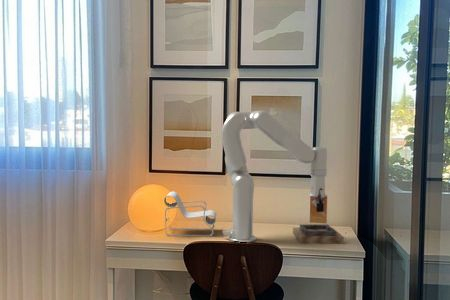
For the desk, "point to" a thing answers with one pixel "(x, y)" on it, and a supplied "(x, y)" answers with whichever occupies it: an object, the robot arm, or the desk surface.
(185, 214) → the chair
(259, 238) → the desk surface
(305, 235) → the display stand
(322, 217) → the small box
